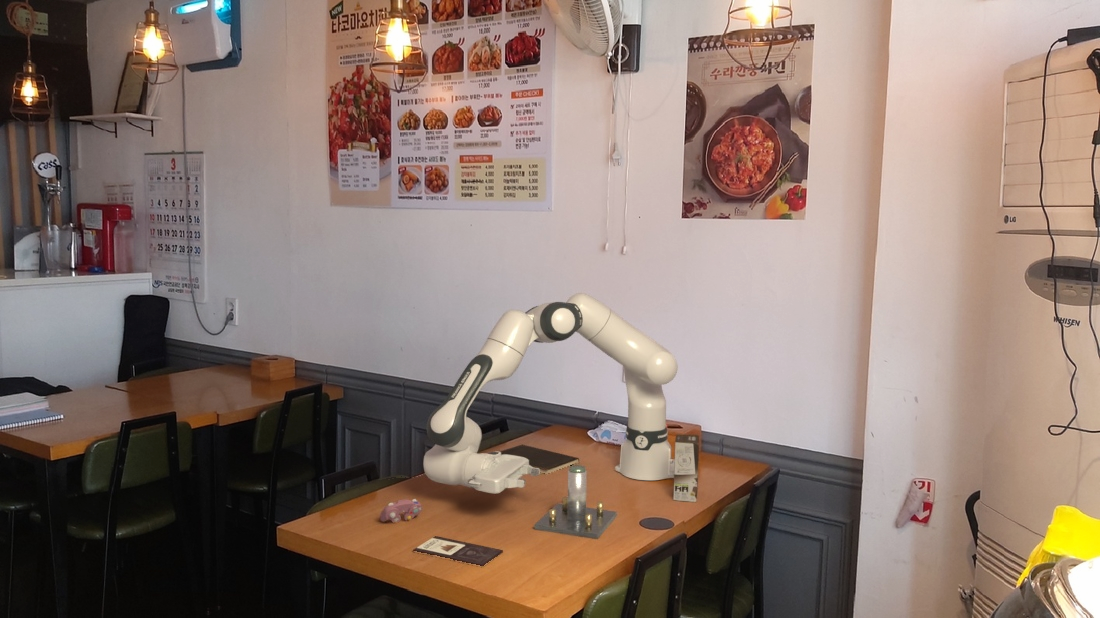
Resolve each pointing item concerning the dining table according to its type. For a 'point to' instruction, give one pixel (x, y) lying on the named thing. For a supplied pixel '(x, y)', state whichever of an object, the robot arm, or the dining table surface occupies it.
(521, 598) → the dining table surface
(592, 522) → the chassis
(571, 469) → the canister
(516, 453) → the hardcover book
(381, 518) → the video game controller
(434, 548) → the chocolate bar
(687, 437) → the coffee box
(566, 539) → the dining table surface
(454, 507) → the dining table surface
